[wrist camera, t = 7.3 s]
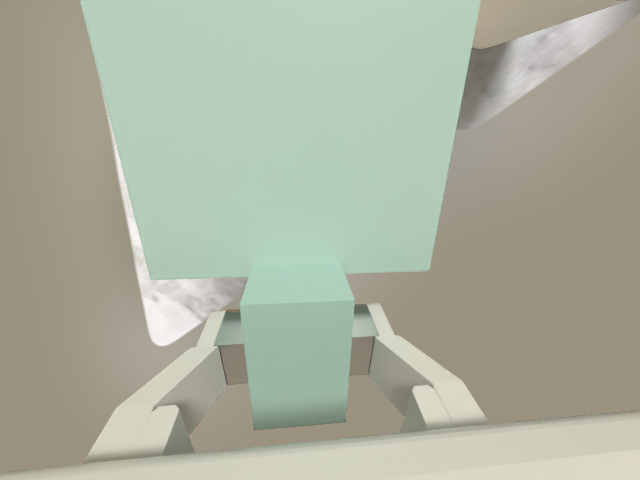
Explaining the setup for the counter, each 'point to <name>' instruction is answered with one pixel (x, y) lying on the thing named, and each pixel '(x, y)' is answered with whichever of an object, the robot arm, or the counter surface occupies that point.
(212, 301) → the counter surface
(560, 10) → the cylindrical container
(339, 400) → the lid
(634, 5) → the counter surface
